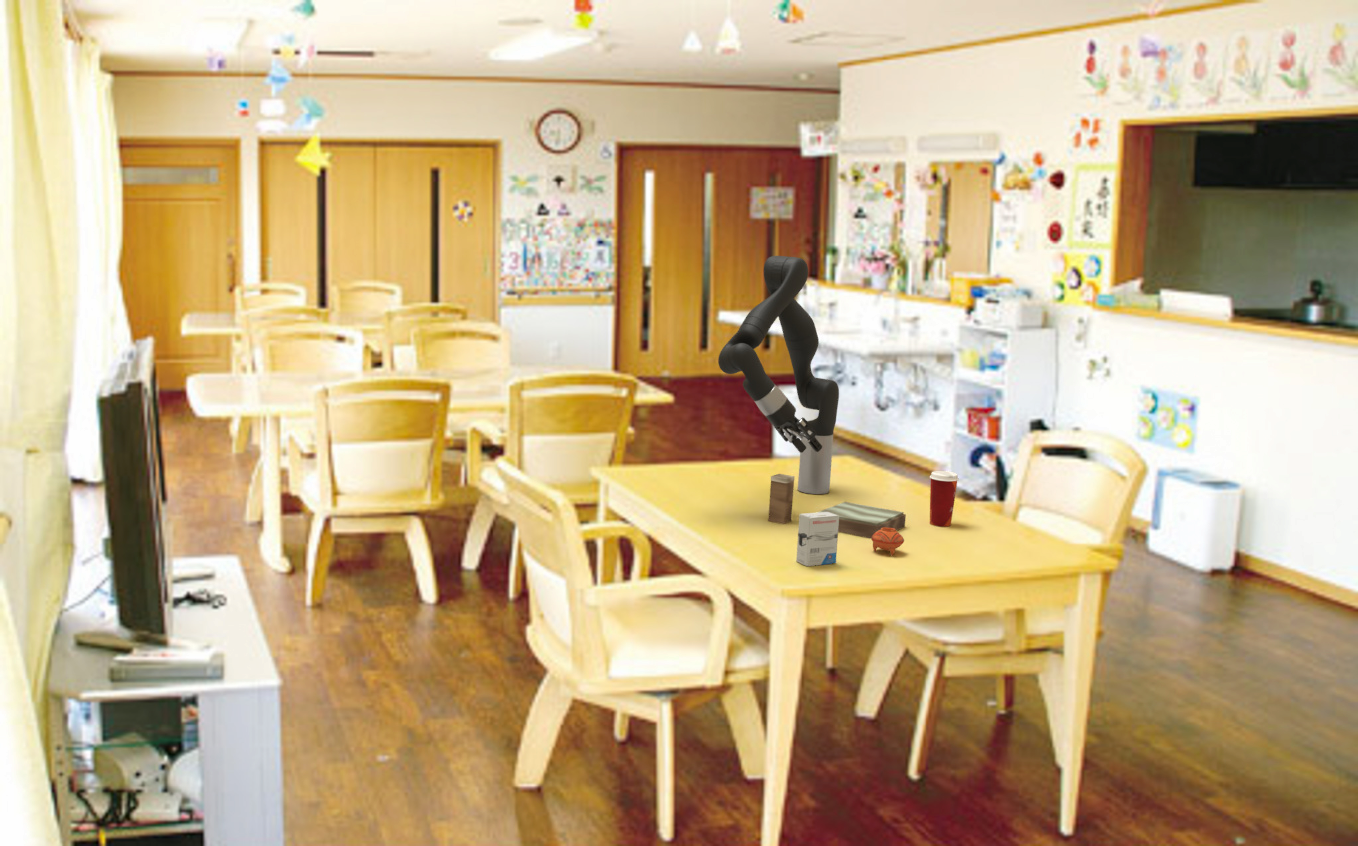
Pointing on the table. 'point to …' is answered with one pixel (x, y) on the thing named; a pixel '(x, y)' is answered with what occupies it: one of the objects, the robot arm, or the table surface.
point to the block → (781, 498)
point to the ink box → (817, 538)
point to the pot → (887, 539)
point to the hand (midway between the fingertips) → (811, 450)
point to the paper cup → (942, 497)
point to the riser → (865, 519)
